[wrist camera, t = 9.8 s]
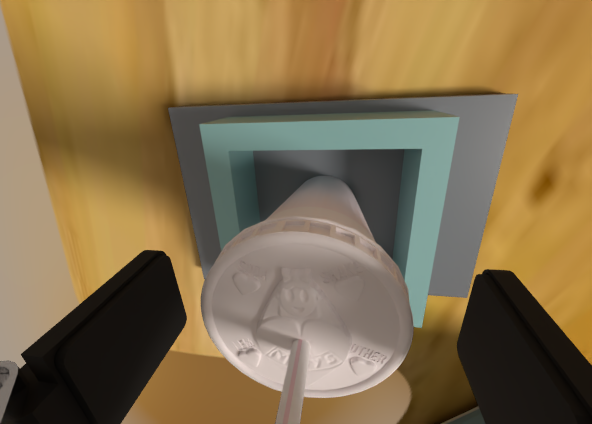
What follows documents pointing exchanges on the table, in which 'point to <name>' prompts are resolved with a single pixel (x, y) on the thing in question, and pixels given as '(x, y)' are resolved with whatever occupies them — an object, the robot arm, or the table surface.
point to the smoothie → (309, 300)
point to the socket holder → (354, 174)
